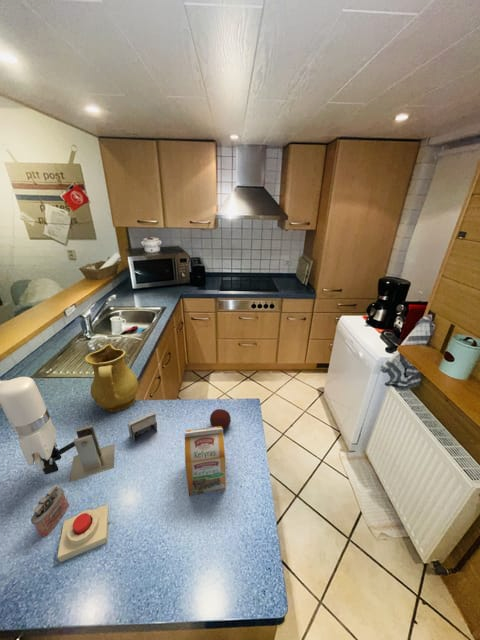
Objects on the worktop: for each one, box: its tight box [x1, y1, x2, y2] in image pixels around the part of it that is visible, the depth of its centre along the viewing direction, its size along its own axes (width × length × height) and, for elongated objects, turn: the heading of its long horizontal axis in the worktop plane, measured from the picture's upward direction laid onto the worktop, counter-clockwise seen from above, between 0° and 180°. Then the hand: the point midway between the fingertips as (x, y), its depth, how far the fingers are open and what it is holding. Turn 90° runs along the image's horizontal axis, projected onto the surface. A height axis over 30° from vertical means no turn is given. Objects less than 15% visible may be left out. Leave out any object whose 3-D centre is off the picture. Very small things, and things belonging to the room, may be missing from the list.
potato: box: [209, 408, 232, 431], centre depth 92 cm, size 7×8×7 cm
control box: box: [56, 504, 110, 563], centre depth 62 cm, size 10×8×4 cm
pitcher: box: [84, 343, 139, 413], centre depth 99 cm, size 17×19×25 cm
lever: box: [43, 430, 92, 462], centre depth 73 cm, size 14×3×3 cm, turn 113°
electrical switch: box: [127, 411, 158, 442], centre depth 87 cm, size 9×5×9 cm, turn 127°
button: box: [73, 513, 91, 534], centre depth 61 cm, size 4×4×2 cm
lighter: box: [30, 485, 70, 538], centre depth 63 cm, size 8×3×10 cm, turn 170°
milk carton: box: [184, 426, 227, 497], centre depth 73 cm, size 11×11×19 cm
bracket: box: [68, 424, 116, 483], centre depth 77 cm, size 12×9×14 cm
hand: (53, 465), depth 74 cm, fingers closed on lever, 3 cm apart
